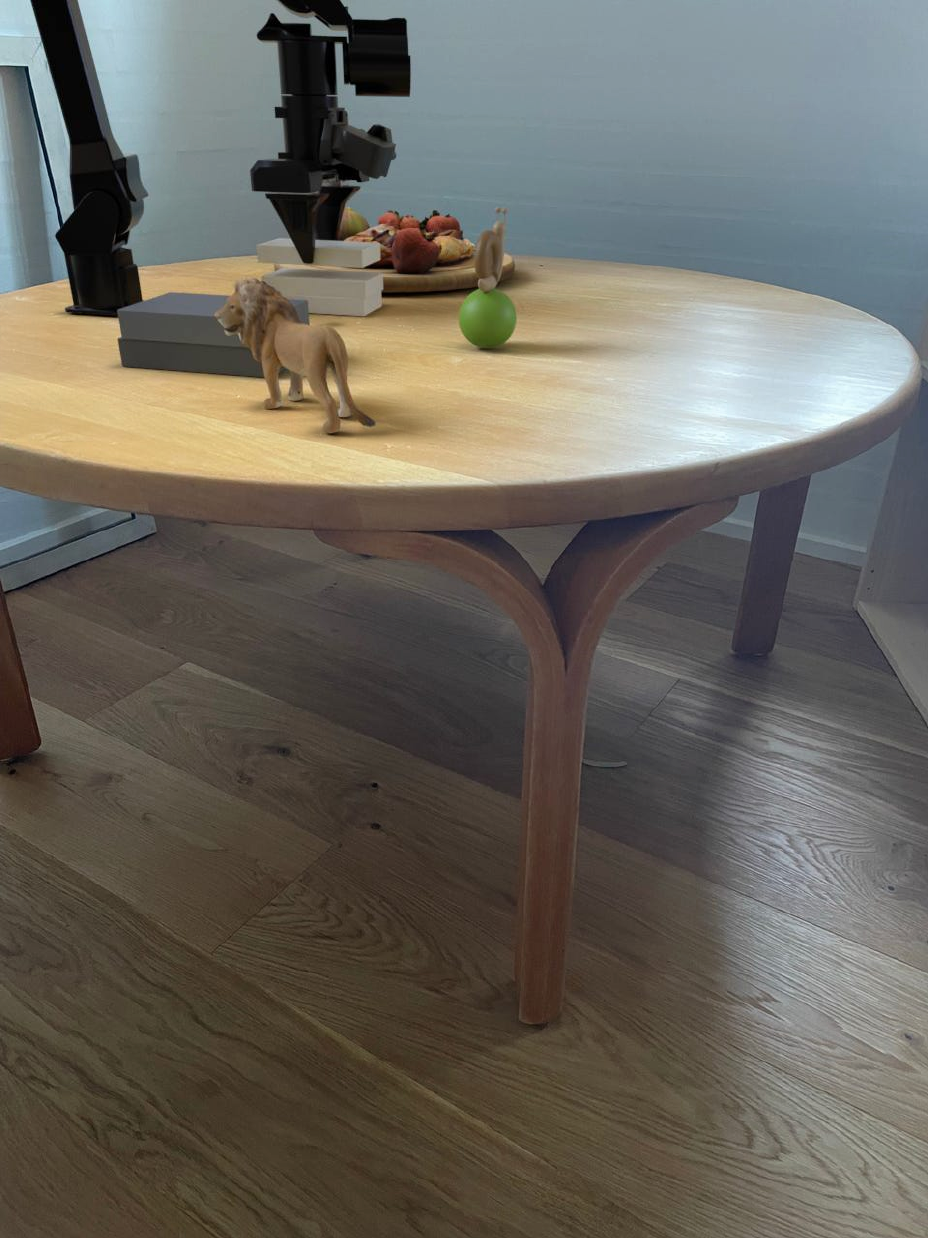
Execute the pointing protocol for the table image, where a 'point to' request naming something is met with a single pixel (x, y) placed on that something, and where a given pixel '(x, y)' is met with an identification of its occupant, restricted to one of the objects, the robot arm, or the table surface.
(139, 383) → the table surface
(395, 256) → the wooden plate
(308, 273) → the light grey block
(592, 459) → the table surface
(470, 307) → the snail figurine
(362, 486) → the table surface
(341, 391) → the lion figurine
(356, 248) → the white rectangular block
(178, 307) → the dark grey box
